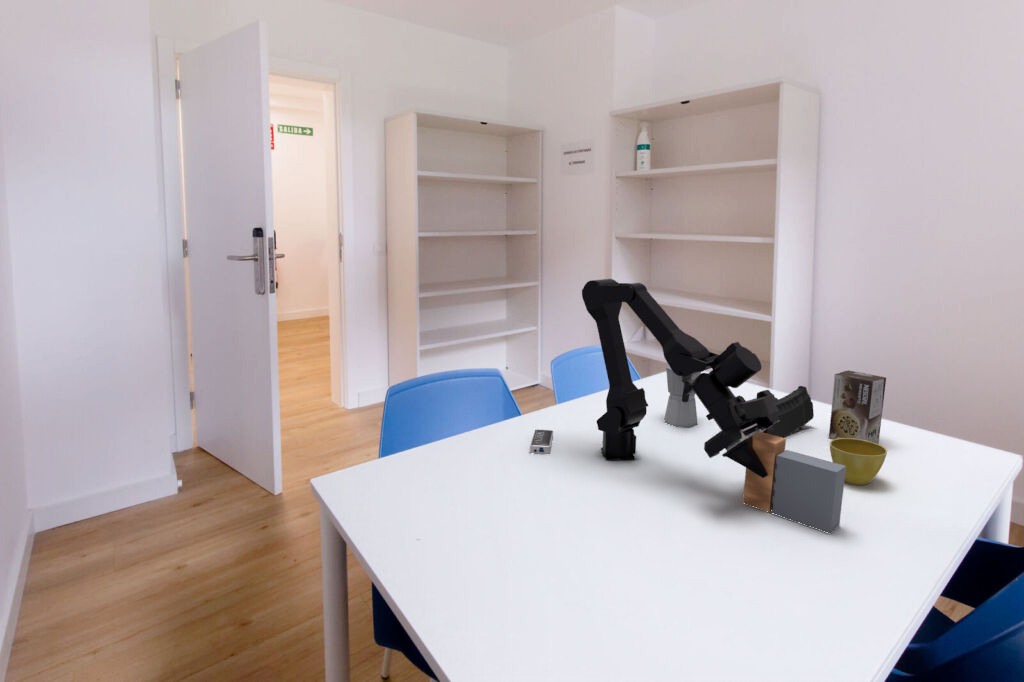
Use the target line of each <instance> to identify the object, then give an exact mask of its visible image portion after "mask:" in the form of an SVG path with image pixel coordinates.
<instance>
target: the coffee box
mask: <svg viewBox="0 0 1024 682" xmlns="http://www.w3.org/2000/svg"><path fill="white" fill-rule="evenodd" d="M833 377H834V379H833V391H832V402H831V414H830V423H829V430H828V431H829V432H828V439H829V440H830V439H831V440H834V439H838V438H853V439H861V440H866V441H870V442H873V443H876V444H879V443H880V435H881V434H880V433H881V426H882V418H883V408H884V399H885V393H886V392H885V391H886V384H887V377H885V376H879V375H874V374H869V373H865V372H859V371H854V370H843V371H842V372H841V371H840V372H838V373H835V374H834V376H833ZM879 445H880V444H879Z"/></svg>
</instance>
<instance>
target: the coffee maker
mask: <svg viewBox="0 0 1024 682" xmlns="http://www.w3.org/2000/svg"><path fill="white" fill-rule="evenodd" d="M665 371H666V382H667V392H668V393H669V395H668V400H667V404H666V409H665V412H664V419H663V420H665V421H664V424H665V423H667V424H666V425H668V424H670V425H669V426H671V425H673V426H672V427H674V426H676V427H675V428H686V427H688V428H689V429H690V428H693V427H696V426H698V424H699V423H698V414H697V413H698V412H697V404H696V403H697V402H696V394H695V392H693V393H690V394H687V395H684V394H683V390H684V387H685V381H687V380H690V379H692V380H694V379H695V378H696V377H698V376H699V375H700V374H701V373H702V372H700V373H696V374H693V375H690V376H686V377H683V376H678V375H676V374H675V373H674V372H673V371H672V370H671V368H670V366H669V365H667V366H666V367H665Z"/></svg>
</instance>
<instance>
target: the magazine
mask: <svg viewBox="0 0 1024 682" xmlns="http://www.w3.org/2000/svg"><path fill="white" fill-rule="evenodd" d="M807 389H808V388H807V386H803V385H799V386H798V387H797V389H796V390H795V389H794V390H793V391H792V392H790V393H789V394H787V395H784V396H783V397H781V398H779V399H778V398H777V399H778V402H777V403H776V407H777V410H778V412H775V413H776V415H777V416H778V417H779V419H780V421H778V422H777V423H775V424H774V425H772V426H773V430H772V431H771V435H774V436H778V437H782V438H783V437H784V438H785V437H788V436H789V435H791V434H793V433H795V432H796V431H798V430H802V427H804V426H805V425H806V424H807V425H808V423H809V422H810V421H812V420H813V419H814V416H815V415H814V402H813V401H812V399H811V395H810V394H809V391H808V390H807ZM772 426H771V427H772ZM769 428H770V427H769Z"/></svg>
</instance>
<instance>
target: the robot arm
mask: <svg viewBox="0 0 1024 682" xmlns="http://www.w3.org/2000/svg"><path fill="white" fill-rule="evenodd" d="M581 297H582V300H583V303H584V306H585V309H586V311H587V313H588V314H589V315H590V316H591V317H592V319H593V320H594V321H595V323H596V328H597V333H598V339H599V342H600V347H601V351H602V356H603V360H604V366H605V369H606V375H607V379H608V384H609V385H608V386H609V388H608V392H607V395H606V399H605V404H606V412H605V413H604V414H602V415H601V416H600V417H599V418H598V419H597V420H596V425H597V429H598V431H601V432H602V447H600V451H601V454H602V455H603V457H604V460H606V461H619V460H620V461H622V460H623V461H624V460H625V461H627V460H629V461H631V460H636V456H635V455H636V449H637V435H635V429H634V428H638V427H639V426H640V423H641V421H642V420H643V419H644V418H645V416H646V415H647V407H649V404H648V402H647V400H646V392H645V389H644V388H643V387H641V388H638V387H637V386H636V385H635V383H634V382H633V378H632V375H631V369H630V366H629V361H628V356H627V350H626V346H625V341H624V336H623V331H622V329H621V324H620V313H621V309H622V305H623V303H626V304H627V305H628V306H629V308H630V309H631V310H632V312H633V313H634V314H635V315H636V317H637V318H638V319H639V320H640V321H641V322H642V324H643V325H644V326H645V327H646V328H647V330H648V331H649V332H650V333H651V334H652V336H654V338H655V339H656V341H657V342H658V343H659V344H660V346H661V349H662V352H663V353H662V354H663V357H664V359H665V361H666V363H667V365H668V366H670V368H671V370H672V371H673V372H674V373H675V374H676V375H678V376H683V377H686V376H690V375H693V374H696V373H700V372H701V374H700V375H699V376H698V377H696V378H695V379H694V380H692V379H690V380H687V381H685V387H684V390H683V394H684V395H687V394H690V393H693V392H695V396H696V397H697V398H698V399H699V401H700V403H701V404H702V405H703V406H704V408H705V410H707V412H708V413H707V415H705V417H706V418H707V420H708V421H712V420H714V422H715V423H716V425H717V426H718V427H719V429H720V431H718V432H717V433H716V434H714V435H713V436H712V437H711V438H709V439H708V440H706V441H705V442H703V443H704V444H703V451H705V453H706V455H707V457H709V459H712V458H714V457H716V456H718V455H719V454H720V452H722V451H724V450H725V451H726V452H723V453H722V455H721V456H722V457H723V458H728V459H730V460H732V461H734V462H735V463H737V464H739V465H741V466H743V467H744V468H745V469H746V468H747V469H749V470H751V471H752V472H754V473H756V474H757V475H759V476H760V477H762V478H764V477H766V476H768V474H767V472H766V470H765V468H764V466H763V464H762V463H761V461H760V459H759V458H758V456H757V454H756V453H755V451H754V449H753V447H752V445H753V436H751V435H753V434H755V433H757V432H763V433H766V434H770V435H771V431H772V430H773V426H772V425H774V424H775V423H777V422H778V421H780V419H779V417H778V416H777V415H776V413H775V412H778V410H777V407H776V403H777V402H778V398H777V397H776V396H775V394H774V393H772V392H771V391H770V389H764V390H761V391H759V392H757V393H756V397H754V398H752V399H749V400H746V399H745V398H744V397H743V396H741V394H740V395H735V394H734V393H733V391H732V390H731V388H733V389H738V388H739V387H741V386H742V385H743V384H744V383H746V382H747V381H749V380H750V378H752V377H754V376H755V375H756V374H758V373H759V372H760V371H761V370H762V364H761V361H760V359H759V358H758V356H757V354H755V353H753V352H752V351H751V350H750V349H749V348H747V347H745V346H742V344H741V343H740V342H739V341H735V342H732V343H730V344H729V345H728V346H727V347H726V349H725V350H723V351H722V352H721V353H720V354H719V353H716V352H712V351H710V350H708V348H707V347H706V346H705V345H704V344H702V343H701V342H700V341H698V340H697V339H696V338H695V337H693V336H692V335H690V334H688V333H686V332H684V331H683V330H682V329H681V328H679V326H678V325H677V324H676V323H675V322H674V320H673V319H672V318H671V317H670V316H669V315H668V313H666V311H665V310H664V309H663V307H661V306H660V304H659V303H658V302H657V300H655V298H654V297H653V296H652V295H651V293H650V292H649V291H648V289H647V287H646V285H645V284H643V283H641V282H633V283H632V282H631V283H629V282H625V283H624V282H620V283H619V282H618V281H616V280H615V279H613V278H604V279H603V278H602V279H594V280H588V281H587V282H585V284H584V286H583V288H581ZM710 369H711V370H710ZM707 370H710V371H709V372H708V373H707V372H704V371H707ZM771 426H772V427H771ZM769 427H770V428H769ZM749 436H751V437H749Z"/></svg>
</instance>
